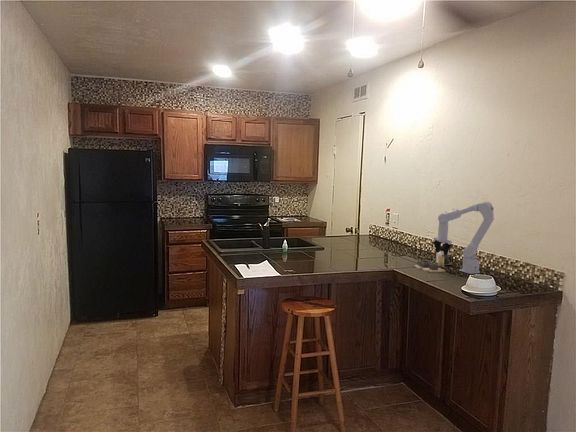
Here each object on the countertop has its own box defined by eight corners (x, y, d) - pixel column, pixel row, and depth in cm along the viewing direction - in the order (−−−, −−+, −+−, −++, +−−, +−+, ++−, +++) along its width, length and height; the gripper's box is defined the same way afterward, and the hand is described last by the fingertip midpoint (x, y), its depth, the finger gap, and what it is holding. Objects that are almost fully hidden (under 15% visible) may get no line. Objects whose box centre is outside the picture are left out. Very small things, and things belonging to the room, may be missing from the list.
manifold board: (445, 271, 272) (445, 265, 271) (430, 272, 268) (430, 266, 267) (427, 265, 287) (428, 259, 287) (413, 266, 284) (413, 260, 283)
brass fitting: (444, 267, 282) (445, 257, 281) (440, 268, 281) (441, 257, 280) (441, 266, 285) (441, 256, 285) (436, 267, 284) (437, 256, 283)
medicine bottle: (441, 264, 291) (442, 246, 289) (435, 262, 298) (436, 244, 296) (451, 264, 292) (452, 246, 291) (445, 262, 299) (446, 244, 298)
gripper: (430, 230, 286) (429, 251, 288) (445, 234, 272) (444, 256, 274) (439, 230, 288) (437, 251, 290) (454, 234, 275) (453, 255, 276)
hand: (441, 253), depth 282 cm, fingers open, 7 cm apart
